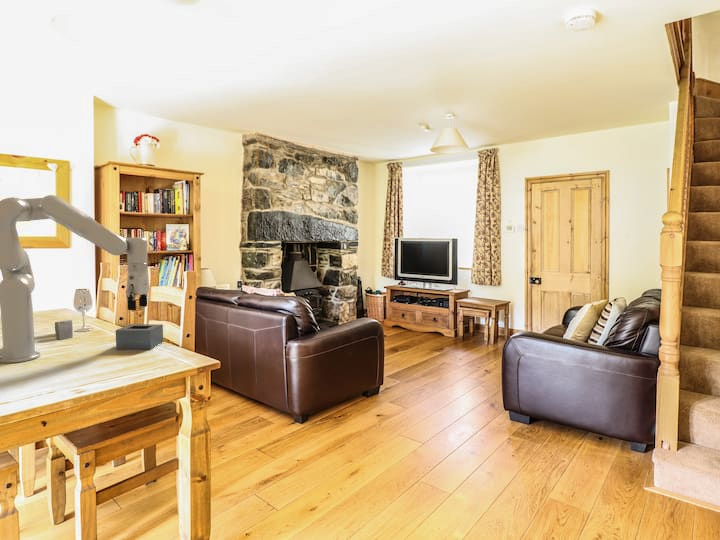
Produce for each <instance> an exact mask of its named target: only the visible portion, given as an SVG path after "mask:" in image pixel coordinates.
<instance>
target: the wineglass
mask: <svg viewBox="0 0 720 540" xmlns="http://www.w3.org/2000/svg"><path fill="white" fill-rule="evenodd" d="M72 305H73V308H74V310H75V311H77V312H78V313H81V314H82V327H81V328H78V329H75V330H74V331H75V332H77V333H78V332H79V333H82V332H84V333H85V332H90V331H93V330H94V328H92V327H87V326H86V324H85V323H86V322H85V315H86V313H87V312H89V311H90V310H91V309H92V307H93V298H92V294H91V292H90V289H89V288H77V289H75V292H74V295H73V304H72Z"/></svg>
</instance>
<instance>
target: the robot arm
mask: <svg viewBox="0 0 720 540" xmlns="http://www.w3.org/2000/svg"><path fill="white" fill-rule="evenodd" d="M38 220H39V221H40V220H52V221H54V222H55V223H56V224H58V225H60V226H62V227H64V228H65V229H67V230H69V231H71V232H72V233H73V234H75V235H77V236H79V237H81V238H83V239H84V240H86V241H89V242H90V243H92V244H94V245H95V246H97V247H98V248H100V249H102V250H104V251H105V252H107V253H109V254H110V255H112V256H122V255H125V254H126V257H127V259H126V261H127V266H126V267H127V272H128V273H127V280H126V290H125V294H126V300H127V311H136V310H137V299H136V298H137V296H139V297H138V301H139V303H138V306H139V307H140V308H141V307H143V308H144V307H148V294H149V292H150V283H149V281H150V280H149V273H148V269H149V268H148V267H149V266H148V259H149V258H148V255H149V254H148V251H149V250H148V246H149V245H148V239H147V238H145V237H137V236H136V237H133V236H132V237H124V236H119V235H118V234H116V233H114V232H113V231H111V230H110V229H108V228H107V227H105V226H103V225H102V224H101V223H99V222H98V221H96V220H95V219H94V218H93V217H92V216H90V215H88V214H87V213H85V212H84V211H81V210H80V209H79V208H77V207H76V206H74V205H72V204H71V203H69V202H67V201H66V200H64V199H63V198H61V197H59V196H57V195H53V194H49V195H46V196H44V197H37V198H36V197H35V198H19V197H15V196H14V197H6V198H3V199H1V200H0V272H1V277H2V280H1V281H0V320H1V336H2V337H1V338H2V347H1V348H0V363H1V364H2V363H3V364H5V363H7V364H10V363H11V364H12V363H22V362H28V361H32V360H35V359H37V358H39V357H41V353H40V352H39V351H36V349H35V348H36V347H35V327H34V313H33V312H34V309H33V308H34V307H33V298H32V293H33V291H34V290H35V287H36V286H35V285H36V284H35V283H36V282H35V277H34V273H33V269H32V266H31V260H30V257H29V254H28V252H27V251H26V250H25V249H24V248H22V246H21V243H20V238H19V233H18V230H17V227H16V225H17V222H28V221H30V222H31V221H38Z"/></svg>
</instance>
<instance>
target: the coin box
mask: <svg viewBox="0 0 720 540" xmlns="http://www.w3.org/2000/svg"><path fill="white" fill-rule="evenodd" d="M162 342H163V343H164V325H163V324H157V323H156V324H155V323H154V324H150V323H149V324H141V323H140V324H138V323H136V324H133V323H131V324H127V325H126V326H123V327H120V328H118V329H116V330H115V347H116V349H115V350H117V351H118V350H119V351H121V350H123V351H125V350H126V351H127V350H128V351H129V350H130V351H131V350H134V351H143V350H144V351H149V350H150V351H151V350H153V349H155V348H156V347H155V346H157V345H158V344H160V343H162ZM163 343H162V344H163ZM160 345H161V344H160ZM158 346H159V345H158ZM158 346H157V347H158ZM154 347H155V348H154ZM152 348H153V349H152Z"/></svg>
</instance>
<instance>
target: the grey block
mask: <svg viewBox="0 0 720 540" xmlns="http://www.w3.org/2000/svg"><path fill="white" fill-rule="evenodd" d="M54 332H55V338H56V339H57V340H59V341H63V340H67V339H71V338H73V337H74V336H73V320H72V319H69V320H68V319H67V320H60V321H55V322H54Z"/></svg>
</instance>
